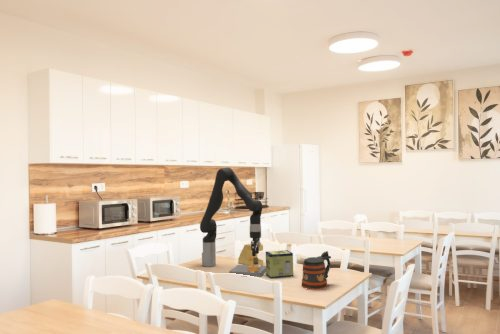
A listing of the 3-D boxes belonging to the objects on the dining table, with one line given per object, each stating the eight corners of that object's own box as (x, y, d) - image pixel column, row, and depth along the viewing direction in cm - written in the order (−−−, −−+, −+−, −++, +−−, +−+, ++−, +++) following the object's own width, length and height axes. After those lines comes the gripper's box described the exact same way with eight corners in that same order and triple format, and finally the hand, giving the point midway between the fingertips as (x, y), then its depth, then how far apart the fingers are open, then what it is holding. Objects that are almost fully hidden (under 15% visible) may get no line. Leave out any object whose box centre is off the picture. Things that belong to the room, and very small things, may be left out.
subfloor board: (229, 276, 274) (229, 271, 274) (237, 269, 292) (237, 264, 292) (260, 277, 268) (260, 272, 268) (267, 270, 287) (267, 265, 287)
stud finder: (248, 271, 271) (247, 266, 271) (249, 269, 275) (249, 265, 275) (257, 271, 270) (257, 266, 270) (258, 270, 274) (258, 265, 274)
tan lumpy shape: (265, 265, 302) (265, 243, 302) (256, 267, 296) (255, 244, 296) (247, 261, 318) (247, 239, 318) (238, 263, 312) (238, 241, 312)
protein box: (265, 275, 274) (265, 251, 274) (288, 273, 278) (287, 249, 278) (270, 279, 264) (269, 254, 264) (293, 277, 267) (293, 252, 268)
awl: (253, 273, 279) (252, 258, 279) (254, 272, 282) (253, 257, 282) (257, 273, 278) (257, 258, 278) (258, 272, 281) (258, 257, 282)
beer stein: (320, 281, 256) (319, 248, 256) (338, 287, 244) (337, 252, 244) (296, 287, 245) (295, 252, 245) (313, 293, 233) (313, 256, 233)
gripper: (258, 232, 273) (258, 257, 273) (263, 229, 286) (263, 252, 287) (247, 231, 275) (247, 256, 275) (252, 228, 288) (252, 252, 288)
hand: (255, 254), depth 281 cm, fingers open, 8 cm apart
